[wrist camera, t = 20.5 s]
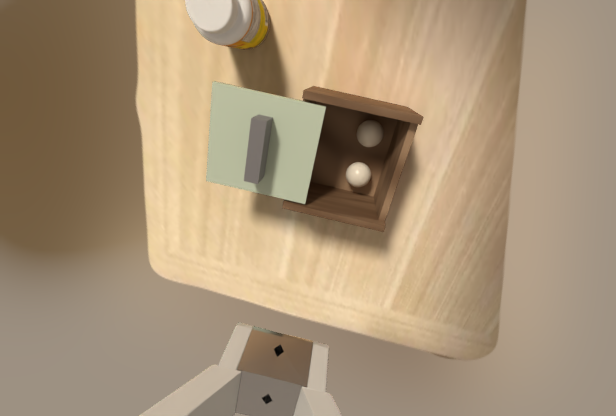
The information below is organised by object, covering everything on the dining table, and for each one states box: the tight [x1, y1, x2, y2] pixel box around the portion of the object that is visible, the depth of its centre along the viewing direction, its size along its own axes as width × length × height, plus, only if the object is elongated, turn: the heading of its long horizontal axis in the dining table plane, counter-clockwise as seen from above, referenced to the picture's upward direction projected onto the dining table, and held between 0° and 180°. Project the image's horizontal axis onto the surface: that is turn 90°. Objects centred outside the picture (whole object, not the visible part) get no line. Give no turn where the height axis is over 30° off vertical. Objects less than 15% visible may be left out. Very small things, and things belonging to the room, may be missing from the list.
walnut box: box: [282, 86, 423, 232], centre depth 34 cm, size 12×11×9 cm
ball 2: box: [346, 162, 371, 187], centre depth 37 cm, size 3×3×3 cm
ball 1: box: [357, 120, 383, 147], centre depth 35 cm, size 3×3×3 cm
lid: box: [206, 81, 326, 204], centre depth 30 cm, size 10×11×3 cm
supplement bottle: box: [185, 0, 270, 49], centre depth 29 cm, size 6×6×10 cm
